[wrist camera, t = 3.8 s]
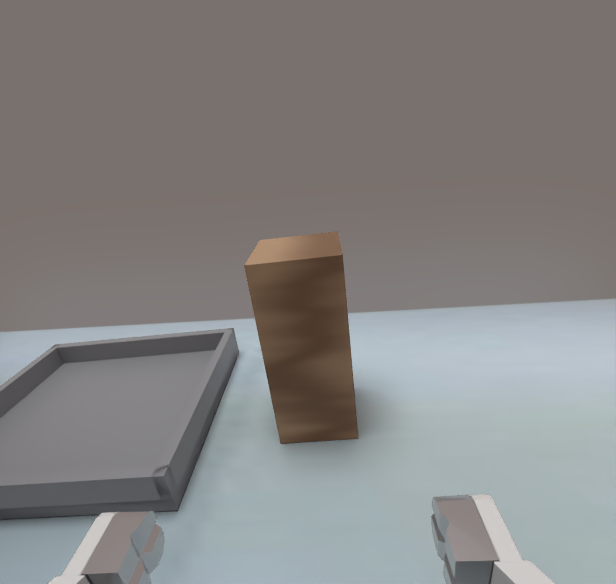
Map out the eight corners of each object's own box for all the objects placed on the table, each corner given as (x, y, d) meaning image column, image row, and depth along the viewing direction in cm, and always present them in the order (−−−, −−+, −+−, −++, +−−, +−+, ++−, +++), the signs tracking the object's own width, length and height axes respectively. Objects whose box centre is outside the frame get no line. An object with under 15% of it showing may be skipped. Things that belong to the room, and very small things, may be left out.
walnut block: (280, 443, 20) (244, 265, 16) (287, 392, 24) (260, 240, 20) (358, 438, 20) (342, 254, 15) (351, 387, 24) (337, 231, 19)
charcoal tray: (-115, 525, 18) (-143, 494, 17) (65, 367, 31) (55, 344, 30) (177, 510, 17) (163, 476, 16) (239, 352, 30) (233, 328, 29)
